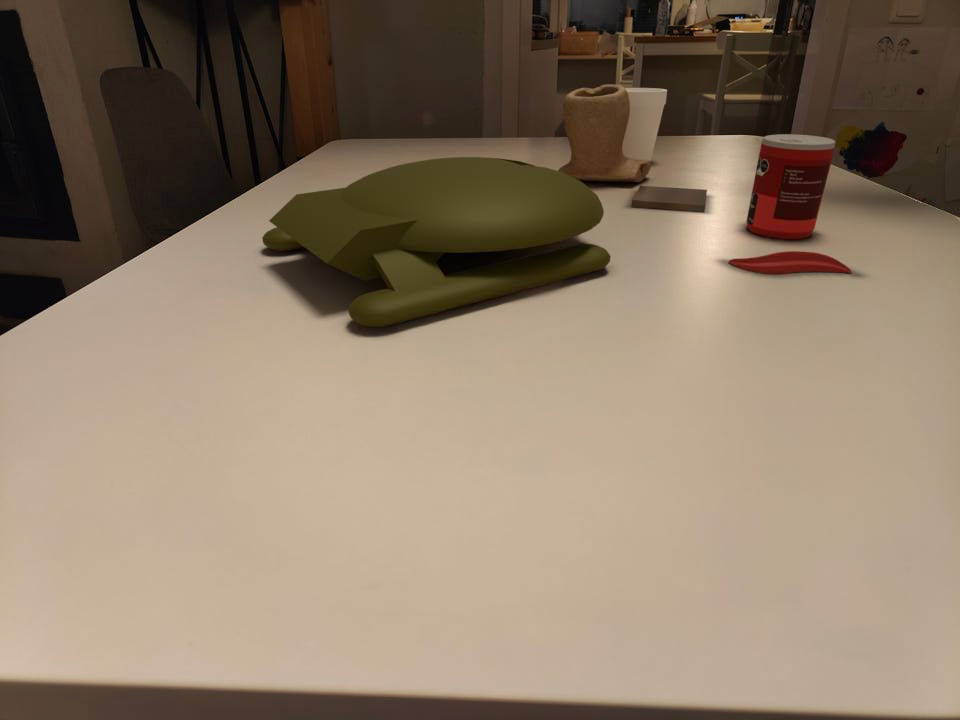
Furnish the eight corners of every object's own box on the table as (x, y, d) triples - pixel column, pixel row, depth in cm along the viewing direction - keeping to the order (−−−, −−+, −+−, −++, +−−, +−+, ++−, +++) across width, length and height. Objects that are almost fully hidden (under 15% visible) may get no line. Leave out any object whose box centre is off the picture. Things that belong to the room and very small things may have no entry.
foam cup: (598, 161, 121) (604, 89, 115) (635, 157, 125) (643, 87, 119) (630, 169, 113) (638, 92, 107) (668, 164, 117) (678, 90, 111)
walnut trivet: (706, 196, 94) (707, 189, 94) (704, 212, 86) (705, 204, 85) (639, 192, 97) (640, 185, 97) (631, 206, 89) (632, 199, 88)
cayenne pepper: (726, 268, 65) (729, 251, 64) (729, 255, 69) (732, 239, 68) (855, 283, 61) (860, 265, 60) (850, 268, 64) (855, 251, 64)
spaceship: (364, 340, 51) (351, 222, 46) (258, 247, 73) (242, 162, 69) (658, 260, 67) (670, 168, 63) (498, 205, 90) (498, 134, 86)
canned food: (763, 219, 82) (781, 132, 77) (824, 231, 77) (848, 139, 71) (732, 229, 78) (749, 138, 73) (794, 244, 72) (818, 146, 67)
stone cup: (549, 186, 101) (553, 87, 94) (564, 172, 111) (569, 82, 104) (643, 192, 97) (655, 88, 90) (650, 177, 107) (661, 82, 100)
